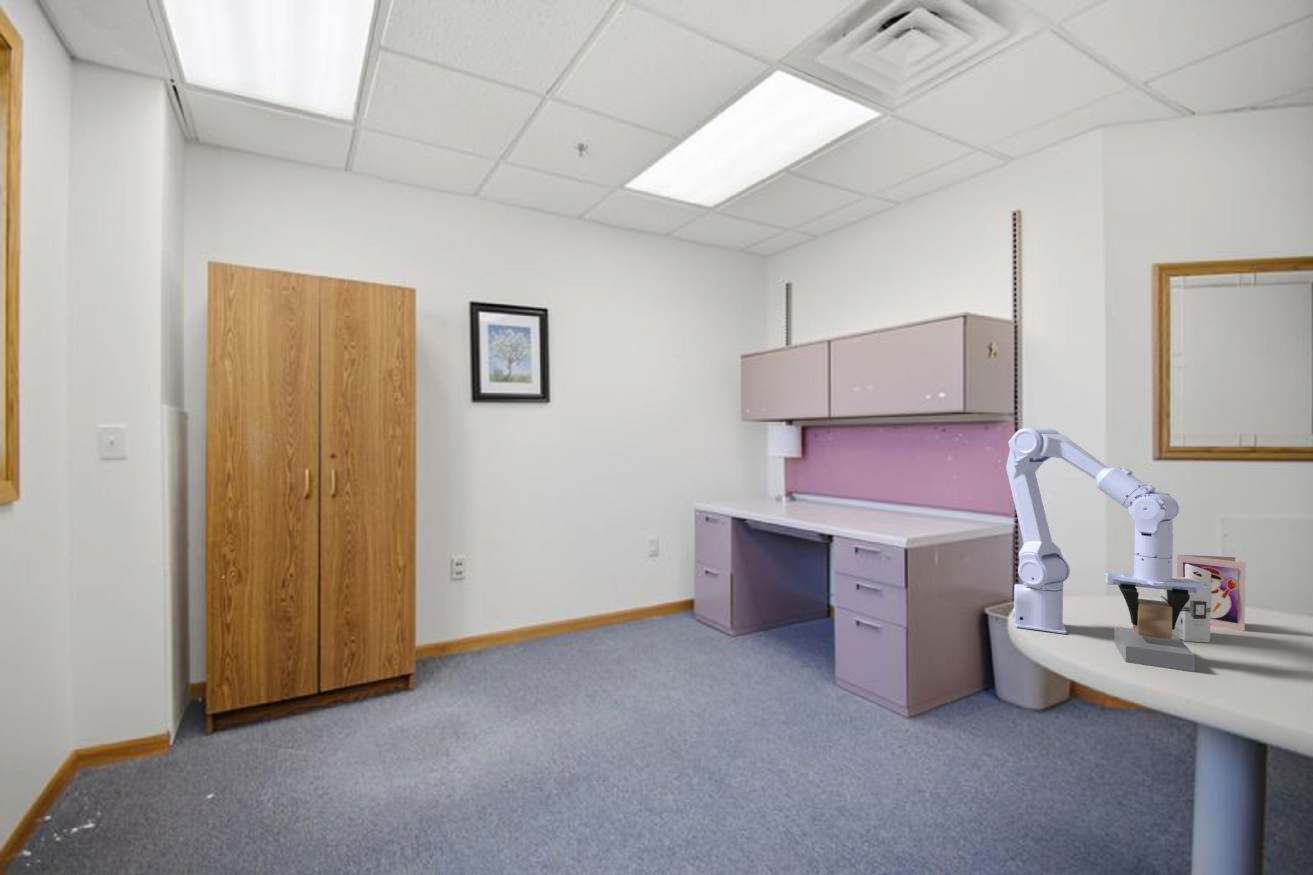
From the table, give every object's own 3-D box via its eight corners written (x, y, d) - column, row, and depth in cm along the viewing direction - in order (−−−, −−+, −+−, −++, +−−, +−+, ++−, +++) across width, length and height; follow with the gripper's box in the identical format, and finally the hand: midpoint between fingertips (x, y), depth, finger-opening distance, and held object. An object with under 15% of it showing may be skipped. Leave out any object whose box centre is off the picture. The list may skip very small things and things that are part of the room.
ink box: (1158, 628, 135) (1159, 561, 134) (1184, 630, 134) (1185, 562, 133) (1183, 641, 126) (1184, 570, 126) (1211, 643, 125) (1212, 571, 125)
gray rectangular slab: (1125, 661, 115) (1125, 645, 115) (1114, 642, 125) (1114, 628, 125) (1194, 672, 110) (1195, 655, 110) (1176, 651, 120) (1176, 636, 120)
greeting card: (1175, 619, 141) (1176, 555, 141) (1180, 613, 146) (1181, 551, 146) (1244, 632, 133) (1245, 563, 132) (1247, 624, 138) (1247, 558, 137)
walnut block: (1138, 635, 117) (1138, 603, 117) (1133, 628, 121) (1133, 598, 121) (1171, 639, 114) (1172, 607, 114) (1165, 632, 119) (1165, 601, 119)
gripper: (1110, 555, 117) (1109, 625, 117) (1209, 563, 110) (1208, 638, 110) (1104, 549, 123) (1103, 616, 124) (1197, 556, 117) (1196, 627, 117)
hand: (1152, 625), depth 117 cm, fingers closed on walnut block, 5 cm apart
